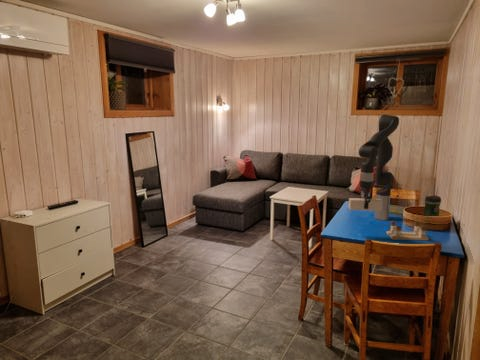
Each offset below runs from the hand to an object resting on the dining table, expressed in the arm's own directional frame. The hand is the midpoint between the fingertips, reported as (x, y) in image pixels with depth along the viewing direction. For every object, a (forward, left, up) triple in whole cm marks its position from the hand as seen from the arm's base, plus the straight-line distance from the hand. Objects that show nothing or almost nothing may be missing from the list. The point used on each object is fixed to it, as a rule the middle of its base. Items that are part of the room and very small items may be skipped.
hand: (364, 207), depth 205 cm
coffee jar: (-28, +53, -18) cm, 63 cm away
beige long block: (0, 0, -1) cm, 1 cm away
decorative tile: (-54, +41, -18) cm, 70 cm away
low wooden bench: (+2, +25, -17) cm, 31 cm away
